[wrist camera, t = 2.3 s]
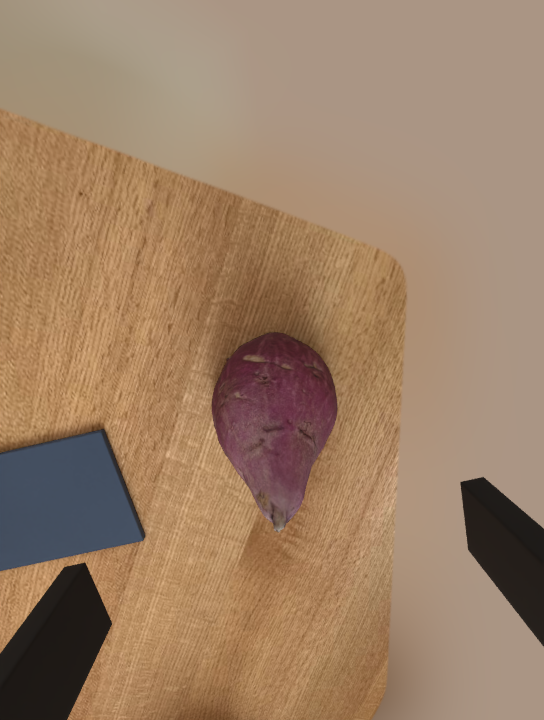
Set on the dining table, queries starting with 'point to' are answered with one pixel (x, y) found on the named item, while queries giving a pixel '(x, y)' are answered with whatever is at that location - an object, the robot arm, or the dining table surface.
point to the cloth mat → (63, 501)
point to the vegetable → (274, 419)
